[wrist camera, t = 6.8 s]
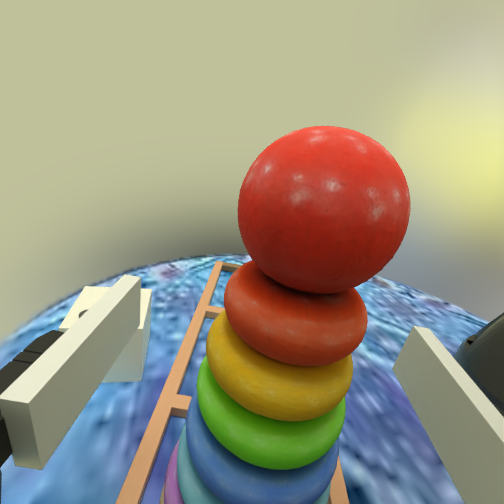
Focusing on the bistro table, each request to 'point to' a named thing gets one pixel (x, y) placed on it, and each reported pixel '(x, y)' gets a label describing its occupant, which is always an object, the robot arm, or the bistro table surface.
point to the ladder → (179, 405)
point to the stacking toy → (290, 322)
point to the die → (136, 349)
